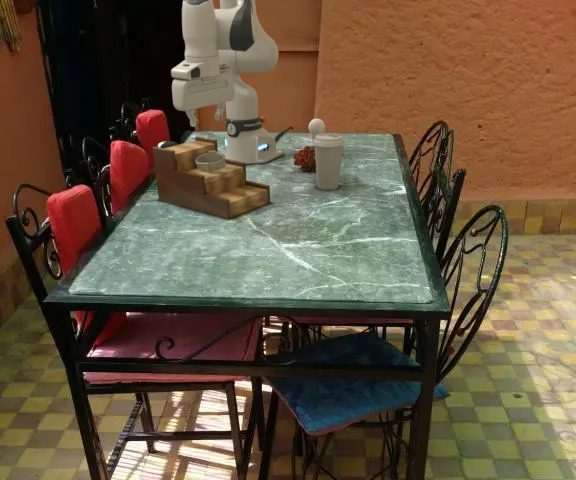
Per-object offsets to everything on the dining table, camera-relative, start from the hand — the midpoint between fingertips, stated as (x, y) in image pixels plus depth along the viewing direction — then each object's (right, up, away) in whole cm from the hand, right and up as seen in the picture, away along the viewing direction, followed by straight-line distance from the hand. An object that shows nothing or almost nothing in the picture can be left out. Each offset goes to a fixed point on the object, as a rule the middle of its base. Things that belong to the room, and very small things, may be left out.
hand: (207, 123), depth 175 cm
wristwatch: (0, -11, +7) cm, 13 cm away
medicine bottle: (-15, -7, +30) cm, 34 cm away
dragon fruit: (+29, 0, +39) cm, 49 cm away
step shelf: (+1, -18, +11) cm, 22 cm away
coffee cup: (+35, -11, +23) cm, 43 cm away
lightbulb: (+33, +16, +64) cm, 73 cm away
